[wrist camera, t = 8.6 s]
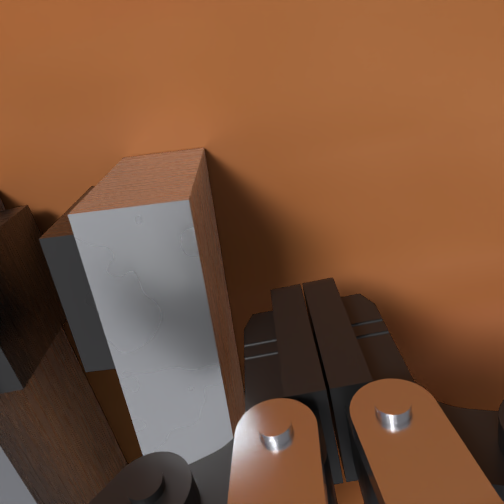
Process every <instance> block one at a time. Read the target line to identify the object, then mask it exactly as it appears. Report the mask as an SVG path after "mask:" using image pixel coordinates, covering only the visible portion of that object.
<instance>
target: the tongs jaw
mask: <svg viewBox="0 0 504 504" xmlns="http://www.w3.org/2000/svg"><path fill="white" fill-rule="evenodd" d="M41 236H42V235H41V233H40V231H39V229H38V226H37V224H36V222H35V220H34V218H33V215H32V213H31V211H30V209H29V207H28V205H25V206H21V207H16V208H12V209H7V210H6V209H5V207H4V204H3V202H2V200H1V198H0V504H88V503H89V502H90V501H91V500H92V499H93V498H94V497H95V496H96V495H97V494H98V493H99V492H100V491H101V490H102V489H103V488H104V487H105V486H106V485H107V484H108V483H109V482H110V481H111V480H112V479H113V478H114V477H115V476H116V475H117V474H118V473H119V472H120V471H121V470H122V469H123V468H125V467H126V466H127V465H128V464H127V462H126V460H125V457H124V455H123V453H122V451H121V449H120V447H119V445H118V443H117V441H116V439H115V437H114V434H113V432H112V430H111V428H110V426H109V424H108V422H107V420H106V418H105V416H104V414H103V411H102V409H101V407H100V405H99V403H98V401H97V399H96V397H95V395H94V393H93V391H92V388H91V386H90V384H89V382H88V380H87V378H86V376H85V374H84V372H83V370H82V368H81V365H80V363H79V361H78V359H77V357H76V355H75V353H74V351H73V349H72V347H71V345H70V342H69V340H68V338H67V336H66V334H65V332H64V330H63V328H62V326H63V324H64V323H65V321H66V319H67V318H66V315H65V312H64V309H63V306H62V303H61V301H60V298H59V295H58V292H57V289H56V286H55V284H54V281H53V278H52V275H51V272H50V269H49V266H48V264H47V261H46V258H45V255H44V252H43V249H42V246H41V244H40V241H39V238H40V237H41Z"/></svg>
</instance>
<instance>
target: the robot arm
mask: <svg viewBox="0 0 504 504" xmlns="http://www.w3.org/2000/svg"><path fill="white" fill-rule="evenodd" d="M302 284H303V291H304V296H305V301H306V306H305V301H304V297H303V293H302V289H301V285H300V284H298V285H292V286H287V287H282V288H277V289H272V290H271V299H272V307H273V311H268V312H263V313H258V314H253V315H252V316H251V318H250V320H249V322H248V323H247V325H246V327H245V329H244V346H245V348H244V358H245V414H244V415H243V416H242V417H241V419H240V420H239V422H238V424H237V427H236V430H235V434H234V437H233V439H232V440H231V441H229V442H228V443H227V444H226V445H225V446H223V447H222V448H220V449H219V450H217V451H215V452H214V453H212V454H210V455H207V456H205V457H203V458H201V459H199V460H197V461H195V462H193V463H191V464H189V465H188V463H187V462H186V461H185V459H184V458H182V457H181V456H180V455H178V454H175V453H172V452H165V451H160V452H153V453H150V454H146V455H144V456H141V457H139V458H138V459H136V460H134V461H132V462H131V463H130V464H128V465H127V466H126V467H125V468H123V469H122V470H121V471H120V472H119V473H118V474H117V475H116V476H115V477H114V478H113V479H112V480H111V481H110V482H109V483H108V484H107V485H106V486H105V487H104V488H103V489H102V490H101V491H100V492H99V493H98V494H97V495H96V496H95V497H94V498H93V499H92V500H91V501H90V502H89V503H88V504H338V503H337V498H336V493H335V488H334V484H339V483H343V478H342V473H341V467H340V462H339V456H338V451H337V445H338V449H339V453H340V457H341V461H342V465H343V469H344V474H345V478H346V482H350V481H356V480H358V481H359V485H360V489H361V492H362V496H363V500H364V504H504V400H503V402H502V403H501V405H500V408H499V411H488V410H476V409H465V408H458V407H454V406H450V405H447V404H444V403H441V402H439V401H437V400H435V398H434V397H433V396H432V395H431V394H430V393H429V392H428V391H427V390H426V389H424V388H423V387H421V386H420V385H417V384H416V383H415V382H414V380H413V378H412V376H411V374H410V372H409V370H408V368H407V366H406V364H405V362H404V360H403V358H402V356H401V355H400V353H399V351H398V349H397V347H396V345H395V343H394V341H393V339H392V337H391V335H390V333H389V332H388V329H387V327H386V325H385V323H384V321H383V320H382V317H381V315H380V313H379V311H378V309H377V307H376V305H375V304H374V303H372V302H371V301H370V300H368V299H367V298H365V297H364V296H362V295H361V294H355V295H350V296H345V297H340V295H339V292H338V290H337V287H336V284H335V282H334V279H333V278H327V279H322V280H317V281H312V282H307V283H302ZM306 307H307V310H306ZM307 312H308V314H307ZM308 317H309V318H308ZM333 428H334V429H333ZM334 432H335V435H334ZM335 436H336V440H337V445H336V440H335Z"/></svg>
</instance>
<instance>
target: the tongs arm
mask: <svg viewBox="0 0 504 504" xmlns="http://www.w3.org/2000/svg"><path fill="white" fill-rule="evenodd" d="M39 241H40V244H41V246H42V249H43V252H44V255H45V258H46V261H47V264H48V266H49V269H50V272H51V275H52V278H53V281H54V284H55V286H56V289H57V292H58V295H59V298H60V301H61V303H62V306H63V309H64V312H65V315H66V318H67V321H68V323H69V326H70V329H71V332H72V335H73V338H74V341H75V343H76V346H77V349H78V352H79V355H80V358H81V360H82V363H83V366H84V369H85V372H91V371H100V370H108V369H116V371H117V374H118V378H119V381H120V384H121V387H122V390H123V394H124V397H125V400H126V403H127V406H128V409H129V413H130V416H131V419H132V422H133V425H134V429H135V432H136V435H137V438H138V441H139V445H140V448H141V451H142V454H143V456H144V455H146V454H150V453H153V452H160V451H165V452H172V453H175V454H178V455H180V456H181V457H182V458H184V459H185V461H186V462H187V463H188V465H189V464H191V463H193V462H195V461H197V460H199V459H201V458H203V457H205V456H207V455H210V454H212V453H214V452H215V451H217V450H219V449H220V448H222V447H223V446H225V445H226V444H227V443H228V442H229V441H231V440H232V439H233V437H234V434H235V430H236V427H237V424H238V422H239V420H240V419H241V417H242V416H243V415H244V414H245V396H244V389H243V383H242V377H241V371H240V365H239V359H238V353H237V347H236V340H235V334H234V328H233V322H232V316H231V310H230V304H229V297H228V291H227V285H226V279H225V273H224V267H223V261H222V255H221V248H220V242H219V236H218V230H217V224H216V218H215V212H214V205H213V199H212V193H211V187H210V181H209V175H208V169H207V163H206V156H205V150H204V148H198V149H190V150H182V151H174V152H166V153H158V154H150V155H142V156H134V157H126V158H122V159H121V160H120V162H119V163H118V164H117V165H116V166H115V167H114V168H113V169H112V170H111V171H110V172H109V173H108V174H107V175H106V176H105V177H104V178H103V179H102V180H101V181H100V182H99V183H98V184H97V185H96V186H91V187H90V188H89V189H88V190H87V191H86V192H85V193H84V194H83V195H82V196H81V197H80V198H79V199H78V200H77V201H76V202H75V203H74V204H73V205H72V206H71V207H70V208H69V209H68V210H67V211H66V212H65V213H64V214H63V215H62V216H61V217H60V218H59V219H58V220H57V221H56V222H55V223H54V224H53V225H52V226H51V227H50V228H49V229H48V230H47V231H46V232H45V233H44V234H43V235H42V236H41V237H40V238H39Z"/></svg>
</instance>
